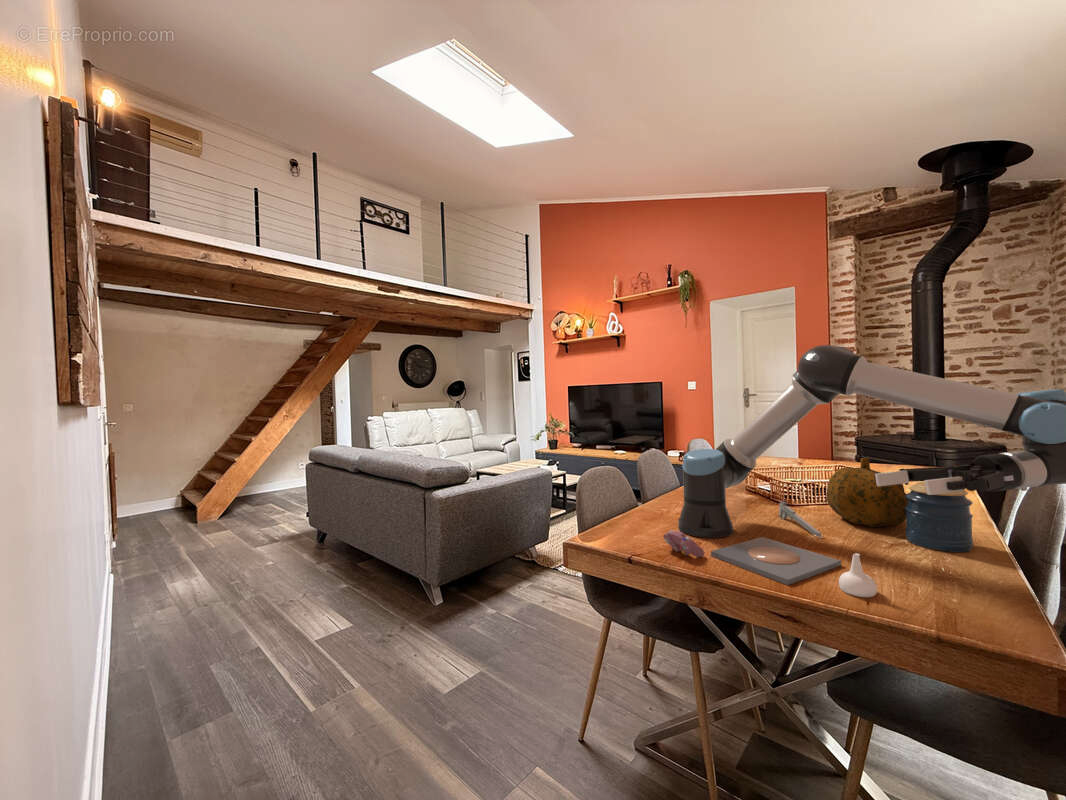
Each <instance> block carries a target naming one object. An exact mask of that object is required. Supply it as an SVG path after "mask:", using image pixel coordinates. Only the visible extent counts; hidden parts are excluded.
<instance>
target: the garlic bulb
mask: <svg viewBox="0 0 1066 800" xmlns="http://www.w3.org/2000/svg"><path fill="white" fill-rule="evenodd" d="M860 556H861V554H860V553H856V552H855V553H853V554H852V557H851V558H852V560H851V564H850V569H849V571H845V572H843V573H842V574H841V575H840V576H839V578H838V585H839V588H840V590H842V591H843V592H844V593H846V594H849V595H850V596H855V597H859V598H872V597H875V596H876V595H877V592H878V586H877V584H876V582H875V580H874V579H873V578H872V577H871V576H870V575H868V574H866V573H864V570H863V567H862V563H861V557H860Z"/></svg>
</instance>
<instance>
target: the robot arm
mask: <svg viewBox="0 0 1066 800" xmlns="http://www.w3.org/2000/svg"><path fill="white" fill-rule="evenodd" d="M791 379H792V381H791V382H792V383H791V384H790V385H789V386H788V387H787V388H786V389H785V390H783V391H782V392H781V393H780V395H778V396H777V398H775V399H773V401H772V402H771V403H770V404H769V405H768V406H767V407H766V408H765V409H764V410H762V411H761V412H760V414H759V415H757V416H756V417H755V418H754V420H752V421H751V422H750V423H749V424H748V425H747V426H746V427H745V428H744V429H743V430H741V432H739V434H737V435H736V436H735V437H734V438H725V440H723V442H721V443H720V444H719V445H718V446H717V447H716V448H715V449H714V448H713V449H712V448H701V449H700V448H699V449H693V450H690V451H687V452H686V453H685V454H684V455H683V458H682V464H681V465H682V477H683V478H682V479H683V481H682V485H683V505H682V509H681V511H680V517H679V518H678V521H677V522H678V525H677V526H678V530H679V532H682V533H684V534H685V535H686V534H687V535H689V536H692V537H697V538H711V539H715V538H716V539H718V538H719V539H720V538H725V537H730V536H731V535H732V534H733V532H734V526H733V522H732V520H731V517H730V514H729V511H728V509H727V505H726V504H727V501H726V497H727V496H726V495H727V493H726V489H727V488H731V487H733V486H734V487H735V486H736V485H739V484H741V483H743V482H744V481H745V480H746V479H747V477H748V475H749V474H750V472H751V471H753V470H754V469H755V468H756V467H757V459H758V458H760V456H762V455H763V454H764V453H765V452H766V451H767V450H768V449H769V448H771V446H773V445H774V444H775V443H776V442H777V441H779V440H780V439H781V438H782V437H783V436H785V434H787V432H789V431H790V430H791V429H792V428H793V427H795V426H796V425H797V424H798V423H799V422H800V421H802V419H804V418H805V417H806V416H807V415H808V414H809V413H810V412H811V411H812V410H813V409H815V408H816V407H817V406H818V405H828V404H829V403H831V402H832V401H833V400H834V399H836V398H837V396H839V395H844V396H848V397H850V396H852V395H855V394H858V395H862V396H865V397H870V398H873V399H878V400H881V401H886V402H889V403H894V404H897V405H901V406H904V407H905V406H906V407H909V408H913V409H916V410H921V411H923V412H928V413H931V414H936V415H940V416H943V417H948V418H952V419H956V420H958V421H959V420H960V421H962V422H963V421H964V422H968V423H971V424H975V425H978V426H979V425H980V426H983V427H987V428H989V429H995V430H998V431H1003V432H1006V433H1009V434H1012V435H1013V434H1014V435H1017V436H1020V438H1021V441H1022V442H1021V443H1022V446H1023V450H1015V451H1007V452H999V453H991V454H983V455H977V457H975V458H973V460H972V462H971V463H970V464H960V465H957V466H956V465H953V464H952V465H947V466H945V465H944V466H936V467H934V466H932V467H931V466H930V467H918V468H917V467H916V468H915V467H914V468H900V469H898V470H897V471H896V470H895V471H888V472H881V473H878V474H875V478H876V483H877V486H887V485H895V484H903V485H906V486H908V485H909V483H910V482H911V483H912V482H925V486H926V491H927V494H928V495H934V494H943V493H951V492H960V491H967V492H968V491H969V492H974V491H977V490H978V491H979V492H982V493H986V492H1003V491H1011V490H1019V489H1020V491H1022V492H1026V491H1028V488H1035V487H1036V488H1037V487H1044V486H1045V487H1046V486H1055V485H1065V484H1066V391H1065V390H1064V389H1061V388H1053V389H1043V390H1034V391H1033V390H1032V391H1022V392H1018V393H1013V392H1007V391H1003V390H998V389H996V388H989V387H984V386H982V385H981V386H980V385H975V384H970V383H965V382H962V381H961V382H960V381H956V380H952V379H948V378H943V377H939V376H933V375H928V374H925V373H920V372H915V371H910V370H906V369H901V368H897V367H894V366H893V367H892V366H888V365H882V364H880V363H879V364H878V363H872V362H869V361H868V360H867V358H866V357H865V356H862V355H857V354H856V353H854V352H853V351H852V350H850V349H849V348H847V347H843V346H835V345H829V344H823V345H821V344H820V345H817V346H814V347H812V348H810V349H808V350H806V351H805V352H804V353H803V354H802V355H801V357H800V359H799V361H798V363H797V370H796V371H795V372H794V373H793V374H792V375H791Z"/></svg>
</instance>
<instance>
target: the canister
mask: <svg viewBox="0 0 1066 800" xmlns="http://www.w3.org/2000/svg"><path fill="white" fill-rule="evenodd" d="M908 489H909V490H910V492H907V493H906V495H905V497H906V499H907V500H908V504H907V506H906V507H905V510H906V520H905V537H906V540H907V541H908V542H909V541H910V542H909V543H911V544H913V545H916V546H919V547H922V548H927V549H931V550H935V551H940V552H941V551H942V552H954V553H964V552H969V551H972V549H973V546H974V542H973V541H974V539H973V518H974V515H973V514H972V513H971V510H970V509H971V508H970V507H971V506H972V505H973V504H974V503H973V500H971V499H969V498H967V495H968V494H969V492H968V490H965V491H960V492H951V493H943V494H934V495H928V494H927V491H926V486H925V481H917V482H916V483H915V484H913V485H909V487H908Z"/></svg>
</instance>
